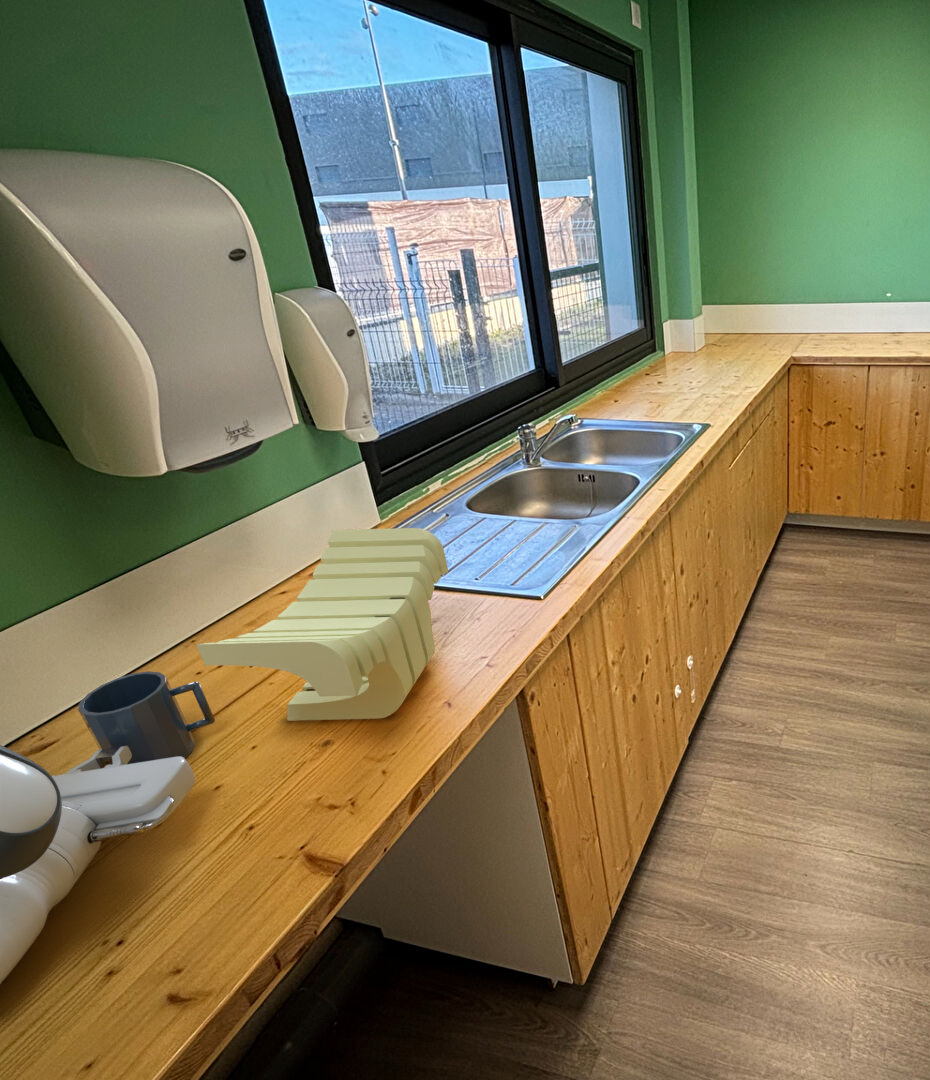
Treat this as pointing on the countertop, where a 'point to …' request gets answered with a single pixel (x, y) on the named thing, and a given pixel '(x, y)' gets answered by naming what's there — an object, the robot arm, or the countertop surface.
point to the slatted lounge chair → (351, 626)
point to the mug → (143, 716)
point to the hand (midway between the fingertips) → (115, 752)
